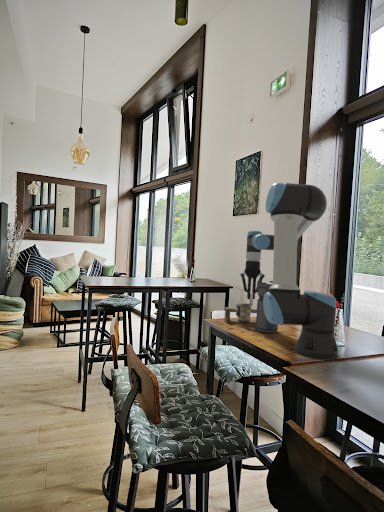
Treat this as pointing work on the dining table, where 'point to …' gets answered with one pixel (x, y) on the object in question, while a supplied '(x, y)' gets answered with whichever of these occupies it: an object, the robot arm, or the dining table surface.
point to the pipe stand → (228, 320)
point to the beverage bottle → (261, 319)
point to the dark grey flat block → (238, 310)
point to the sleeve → (245, 310)
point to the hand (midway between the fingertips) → (250, 305)
